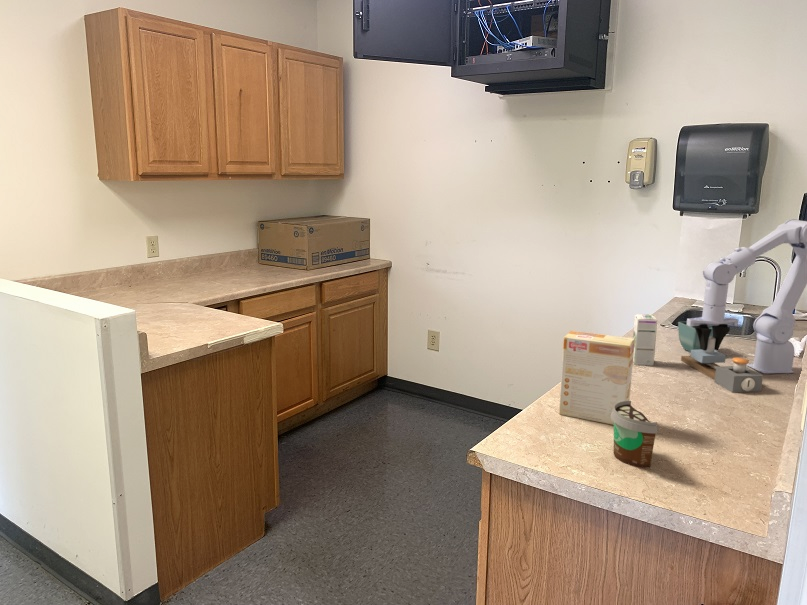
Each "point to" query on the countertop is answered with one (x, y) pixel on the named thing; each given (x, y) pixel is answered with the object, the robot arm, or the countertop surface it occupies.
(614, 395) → the coffeecake box
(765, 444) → the countertop surface
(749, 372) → the button box
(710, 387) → the countertop surface
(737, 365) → the button
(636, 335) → the syrup box
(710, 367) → the rail
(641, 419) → the food container
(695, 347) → the flower pot
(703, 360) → the carriage
